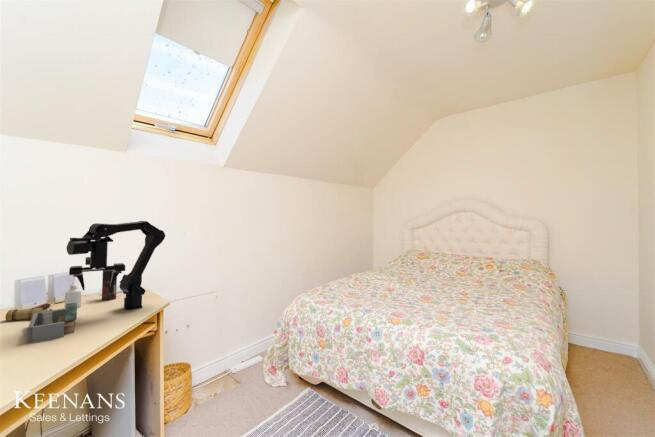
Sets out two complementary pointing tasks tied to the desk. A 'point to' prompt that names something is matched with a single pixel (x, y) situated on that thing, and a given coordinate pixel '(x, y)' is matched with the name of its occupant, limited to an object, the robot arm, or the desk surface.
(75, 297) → the eye dropper bottle
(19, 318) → the gavel
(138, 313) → the desk surface
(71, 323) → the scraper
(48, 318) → the rook chess piece
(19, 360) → the desk surface
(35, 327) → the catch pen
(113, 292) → the deodorant
